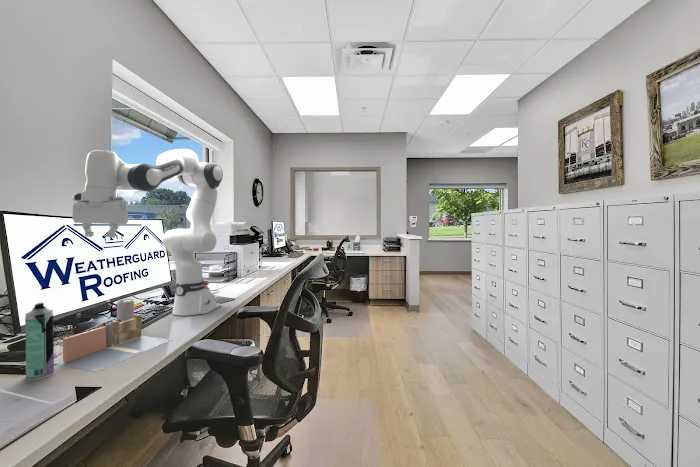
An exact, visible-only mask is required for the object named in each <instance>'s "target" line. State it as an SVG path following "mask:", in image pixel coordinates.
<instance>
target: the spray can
mask: <svg viewBox="0 0 700 467" xmlns="http://www.w3.org/2000/svg"><path fill="white" fill-rule="evenodd" d="M53 312H54V311H53V310H52V309H50V308H47V306H45V305H44V302H39V303H36V304H34V307H33V308H32V309H31V310H30V311H29V312H27V313H25V319H24V322H25V323H24V324H25V325H24V326H25V327H24V329H25V334H24V336H25V377H26V378H25V379H26V380H28V381H36V380H41V379H44V378H48V377H49V376H51V375H53V374H54V373H55V364H54V362H55V355H54V354H55V347H54V344H55V343H54V342H55V341H54V336H55V335H54V332H55V331H54V313H53Z"/></svg>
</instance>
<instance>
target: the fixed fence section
mask: <svg viewBox="0 0 700 467" xmlns="http://www.w3.org/2000/svg"><path fill="white" fill-rule="evenodd" d="M110 324H112V345H114V346H115V345H118V344H120V343H123V342H125V341H128V340H131V339H134V338H136V337H140V336H141V335H142V314H140V313H139V314H138V313H136V314H134V318H133V319H130V320H126V321H123V322H120V323H119V321H117V320H113V321H111V322H110Z"/></svg>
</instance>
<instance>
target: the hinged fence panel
mask: <svg viewBox="0 0 700 467" xmlns="http://www.w3.org/2000/svg"><path fill="white" fill-rule="evenodd" d="M111 346H112V324H111V323H106V324H104V326H101V327H97V328H93V329H91V330H87V331H84V332H81V333H77V334H73V335H70V336H66V337H63V338H62V359H63V362H66V363H67V362H69V361H72V360H74V359H77V358H80V357H83V356H85V355H88V354H91V353H94V352H96V351H99V350H102V349H105V348H106V347H111Z"/></svg>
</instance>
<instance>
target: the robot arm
mask: <svg viewBox="0 0 700 467" xmlns="http://www.w3.org/2000/svg"><path fill="white" fill-rule="evenodd" d="M223 174H224V173H223V169H222V167H221V166H220V165H219V164H218V163H216V162H199V156H198V155H197V153H195V152H194V150H191V149H188V148H179V149H172V150H167V151H165V152H162V153H161V154H159V155H158V156H157V158H156V165H155V164H152V163H145V162H144V163H139V164H137V163H135V164H133V163H132V164H130V163H129V164H128V163H126V162H125V161H123V160H122V159H120V157H118V155H117V153H116V152H115V151H112V150H108V149H107V150H105V149H101V150H100V149H97V150H91V151H89V152H88V154H87V156H86V160H85V178H86V182H85V185H84V189H83V190H82V191H80V192H77V193H75V194H73V195H72V200H73V205H72V220H73V222H74V223H75V224H82V228H83V231H84V236H85V237H87V238H88V237H90V238H91V237H92V238H93V237H94V231H92V228H91V227H93V226H92V224H101V225H102V224H105V225H107V224H108V225H109V230H108V231H107V232H106V237H107V238H112V239H113V238H115V237H116V232H117V231H118V229H119V225H127V224H128V223H129V213H128V212H129V211H128V206H127V201H126V200H125V199H124V198H123V197H122V196H118V191H121V192H123V191H124V192H148V193H149V192H153V191H155V190H156V189H158V188H159V186H161V185H162V183H164V182H165V181H168V180H170V179H172V178H176V177H177V179H178V181H179V183H181V185H183V186H188V187H193V186H194V188H195V192H194V193H193V195H192V197H191V200H190V202H189V205H188V208H187V210H186V213H185V217H186V219H187V220H188V221H189V222H190V227H189V228H175V229H171V230H167V231H166V232H165V233H164V234H163V237H162V239H161V240H162V241H161V242H162V245H163V247H164V248H165V249H166V250H167V251H168V252H169V253H170V255H171V257H172V259H173V262H174V265H175V283H174V290H175V294H174V301H173V307H172V309H173V310H172V313H171V314H172V315H175V316H183V317H184V316H193V315H202V314H203V315H205V314H208V313H210V312H212V311H214V310H215V309H218V308H220V307H221V306H222V305H221V303H219V302H216V296H215V294H214V293H212V292H211V291H210V290H208V289H207V288H206V286H209V284H210V281H209V280H203V264H202V263H201V262H200V261H199V260H197V258H196V257H195V255H194V253H195V254H204V253H208V252H212V251H213V250H214V249H215V248H216V246H217V237H216V235H215V233H214V232H213V231H212V229H211V220H212V217H213V214H214V210H215V207H216V204H217V199H218V187H219V186H220V184H221V183H222V181H223V176H224V175H223Z"/></svg>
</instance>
